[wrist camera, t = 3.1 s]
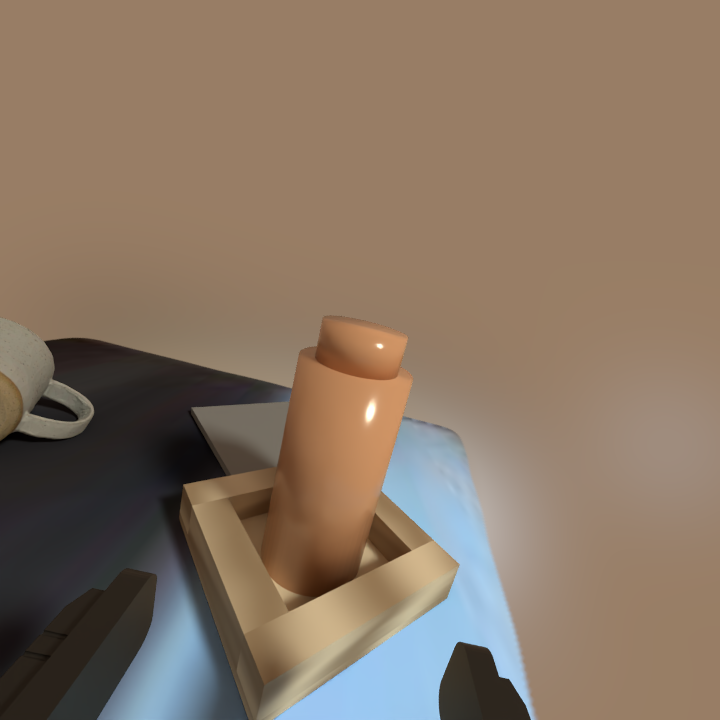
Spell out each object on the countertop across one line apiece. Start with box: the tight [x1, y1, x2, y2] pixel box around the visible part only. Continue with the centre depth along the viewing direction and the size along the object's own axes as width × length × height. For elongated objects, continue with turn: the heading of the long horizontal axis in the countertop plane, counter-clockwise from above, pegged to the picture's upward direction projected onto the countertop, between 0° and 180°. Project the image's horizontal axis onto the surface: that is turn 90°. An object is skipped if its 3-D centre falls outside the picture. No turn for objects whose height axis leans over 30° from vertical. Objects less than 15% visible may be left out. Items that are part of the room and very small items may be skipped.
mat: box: [191, 402, 290, 476], centre depth 34 cm, size 12×12×1 cm
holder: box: [179, 467, 460, 720], centre depth 21 cm, size 12×12×2 cm
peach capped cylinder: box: [261, 316, 413, 597], centre depth 20 cm, size 7×6×14 cm
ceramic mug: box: [0, 317, 94, 441], centre depth 25 cm, size 11×8×8 cm
